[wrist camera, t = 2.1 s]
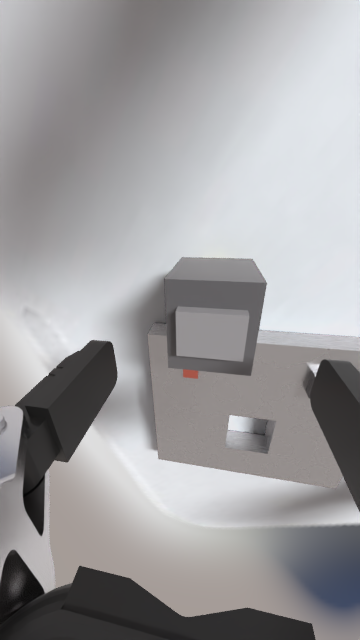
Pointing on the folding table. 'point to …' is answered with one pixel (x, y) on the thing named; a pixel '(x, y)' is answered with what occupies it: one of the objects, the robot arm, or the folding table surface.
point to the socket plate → (249, 408)
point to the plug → (213, 314)
